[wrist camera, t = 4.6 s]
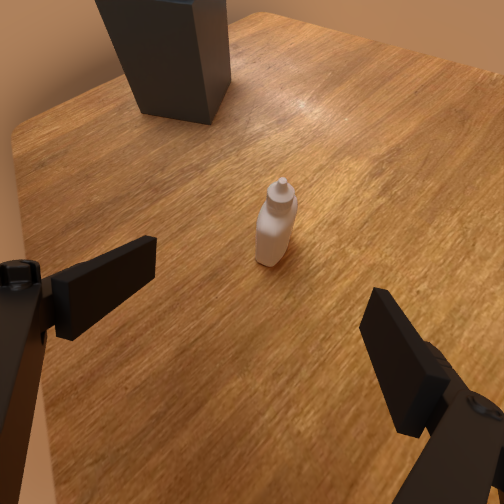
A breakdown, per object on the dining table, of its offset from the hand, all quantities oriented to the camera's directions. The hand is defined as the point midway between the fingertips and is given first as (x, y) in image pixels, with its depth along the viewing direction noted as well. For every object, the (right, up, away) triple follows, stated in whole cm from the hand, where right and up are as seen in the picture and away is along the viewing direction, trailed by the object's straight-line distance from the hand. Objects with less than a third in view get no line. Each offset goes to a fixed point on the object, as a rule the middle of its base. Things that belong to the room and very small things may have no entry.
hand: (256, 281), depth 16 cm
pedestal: (-11, +29, +29) cm, 42 cm away
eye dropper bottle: (+2, +2, +17) cm, 17 cm away
